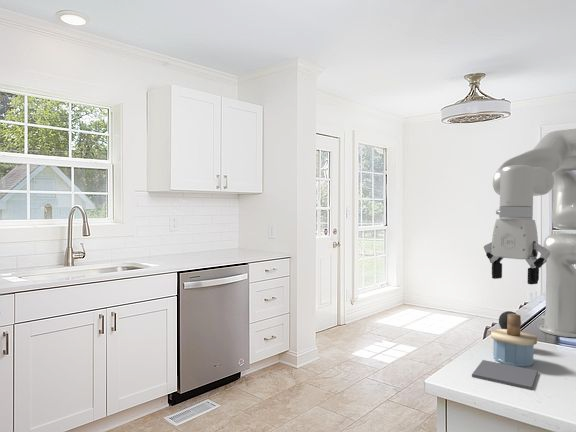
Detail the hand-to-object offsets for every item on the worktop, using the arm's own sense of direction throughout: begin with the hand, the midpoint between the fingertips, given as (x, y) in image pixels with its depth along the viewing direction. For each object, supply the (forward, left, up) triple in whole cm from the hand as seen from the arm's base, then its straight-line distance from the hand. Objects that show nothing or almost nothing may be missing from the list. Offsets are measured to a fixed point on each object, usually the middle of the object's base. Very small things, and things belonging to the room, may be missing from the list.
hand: (514, 281), depth 110 cm
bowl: (0, 0, -21) cm, 21 cm away
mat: (+9, -7, -21) cm, 24 cm away
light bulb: (-12, +6, -21) cm, 24 cm away
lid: (0, 0, -15) cm, 15 cm away
